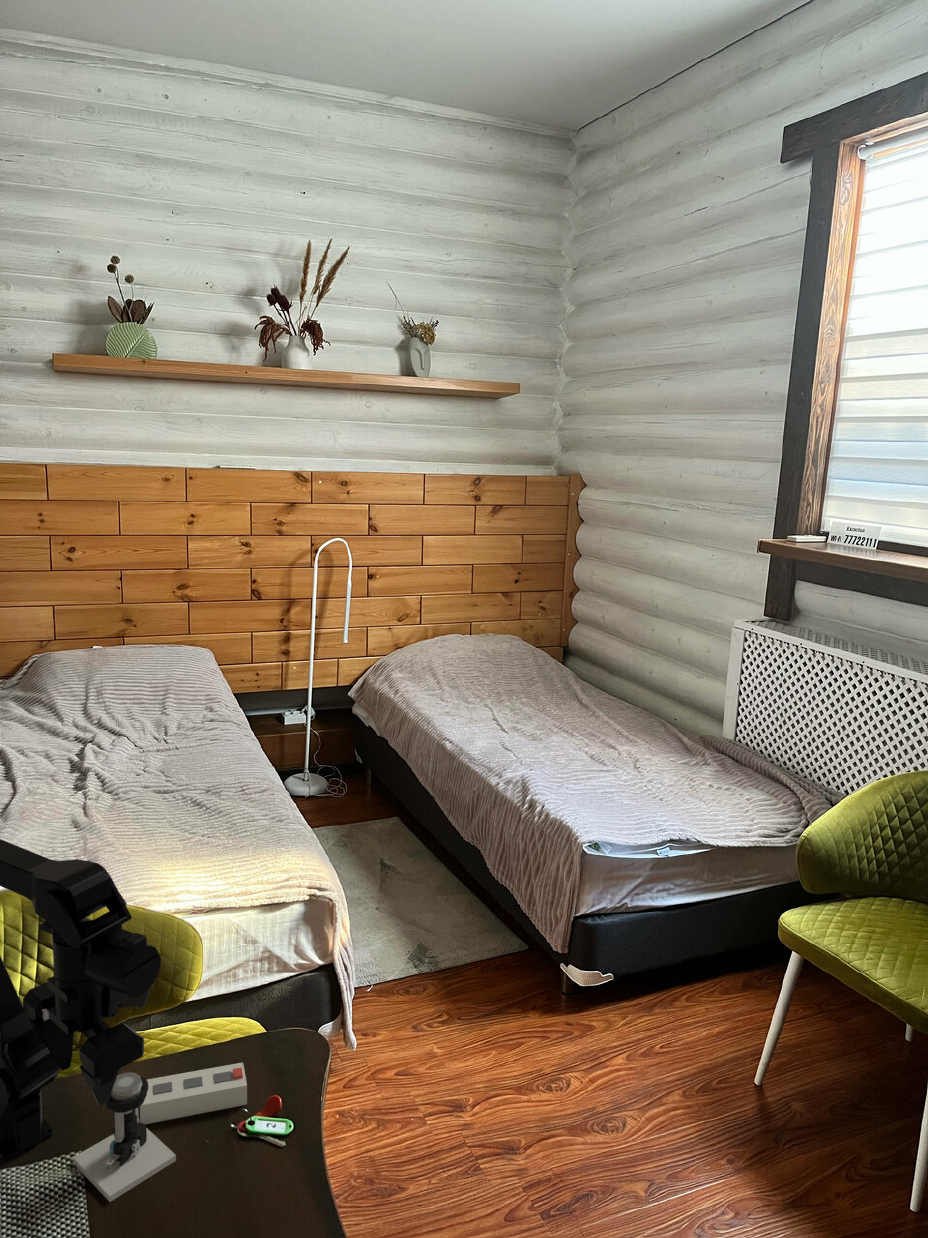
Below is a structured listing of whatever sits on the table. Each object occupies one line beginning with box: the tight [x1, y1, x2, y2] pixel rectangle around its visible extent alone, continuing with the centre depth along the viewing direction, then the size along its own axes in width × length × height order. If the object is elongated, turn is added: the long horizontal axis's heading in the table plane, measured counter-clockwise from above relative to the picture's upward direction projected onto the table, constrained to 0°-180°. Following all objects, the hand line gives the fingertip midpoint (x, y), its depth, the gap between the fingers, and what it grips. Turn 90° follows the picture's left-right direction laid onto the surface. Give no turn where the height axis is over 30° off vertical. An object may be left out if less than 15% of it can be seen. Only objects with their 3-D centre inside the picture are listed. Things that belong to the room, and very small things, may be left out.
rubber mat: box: [72, 1120, 177, 1203], centre depth 116 cm, size 9×9×1 cm
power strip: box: [139, 1062, 248, 1125], centre depth 127 cm, size 14×5×4 cm, turn 110°
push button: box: [105, 1072, 148, 1172], centre depth 115 cm, size 7×5×10 cm
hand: (84, 1085), depth 112 cm, fingers open, 9 cm apart
